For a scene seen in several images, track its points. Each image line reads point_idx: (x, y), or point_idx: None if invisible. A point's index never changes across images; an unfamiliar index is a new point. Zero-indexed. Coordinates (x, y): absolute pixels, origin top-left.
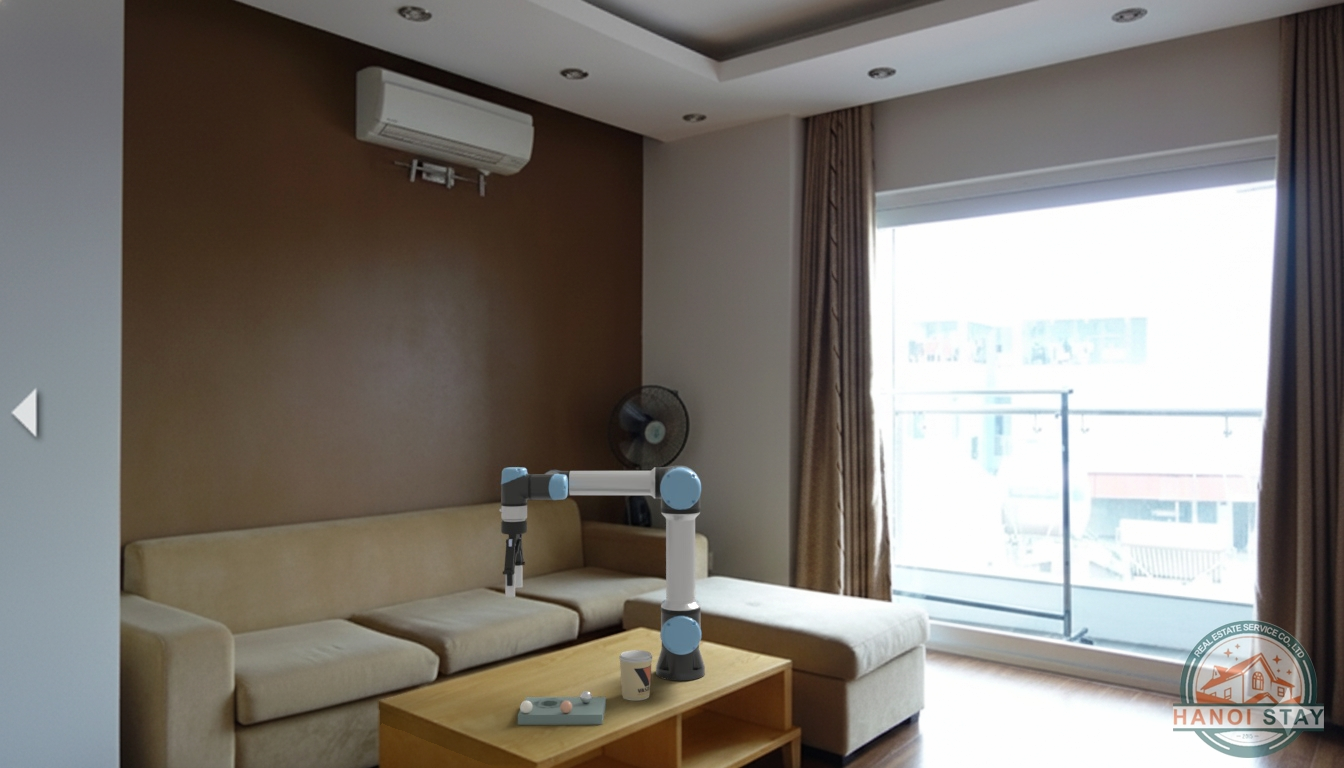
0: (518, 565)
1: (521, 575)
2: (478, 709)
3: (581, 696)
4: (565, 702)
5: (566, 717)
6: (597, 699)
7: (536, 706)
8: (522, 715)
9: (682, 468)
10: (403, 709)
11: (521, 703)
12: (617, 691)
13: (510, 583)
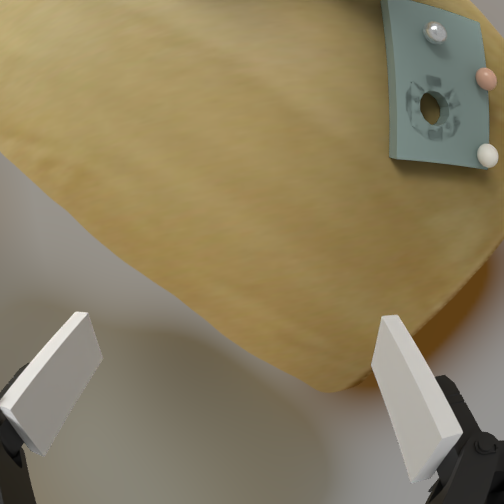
0: (12, 427)
1: (49, 364)
2: (398, 251)
3: (444, 41)
4: (496, 80)
5: None
6: (405, 12)
7: (451, 134)
8: None
9: None
10: None
11: (492, 165)
12: None
13: (452, 394)
